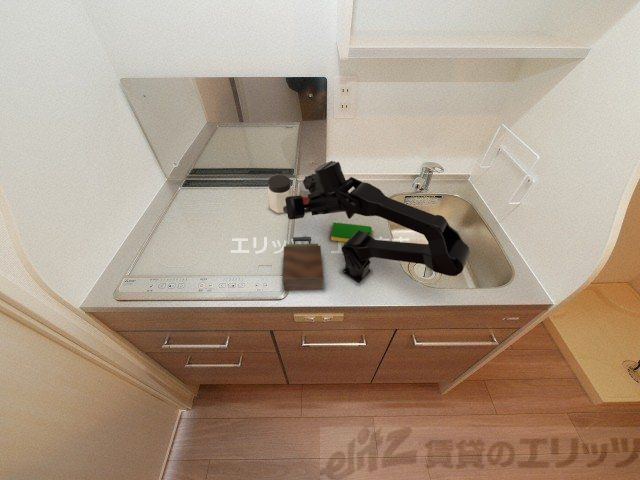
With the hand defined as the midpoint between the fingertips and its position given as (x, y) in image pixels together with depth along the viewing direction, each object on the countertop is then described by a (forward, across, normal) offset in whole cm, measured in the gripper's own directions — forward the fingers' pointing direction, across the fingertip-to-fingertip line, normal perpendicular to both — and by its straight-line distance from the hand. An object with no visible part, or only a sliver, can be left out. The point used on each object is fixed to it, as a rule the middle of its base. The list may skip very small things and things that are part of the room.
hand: (295, 207), depth 84 cm
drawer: (0, 0, +17) cm, 17 cm away
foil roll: (+14, -18, 0) cm, 23 cm away
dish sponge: (-5, -20, +12) cm, 24 cm away
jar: (+21, -11, -1) cm, 24 cm away
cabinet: (-2, +2, +20) cm, 21 cm away
